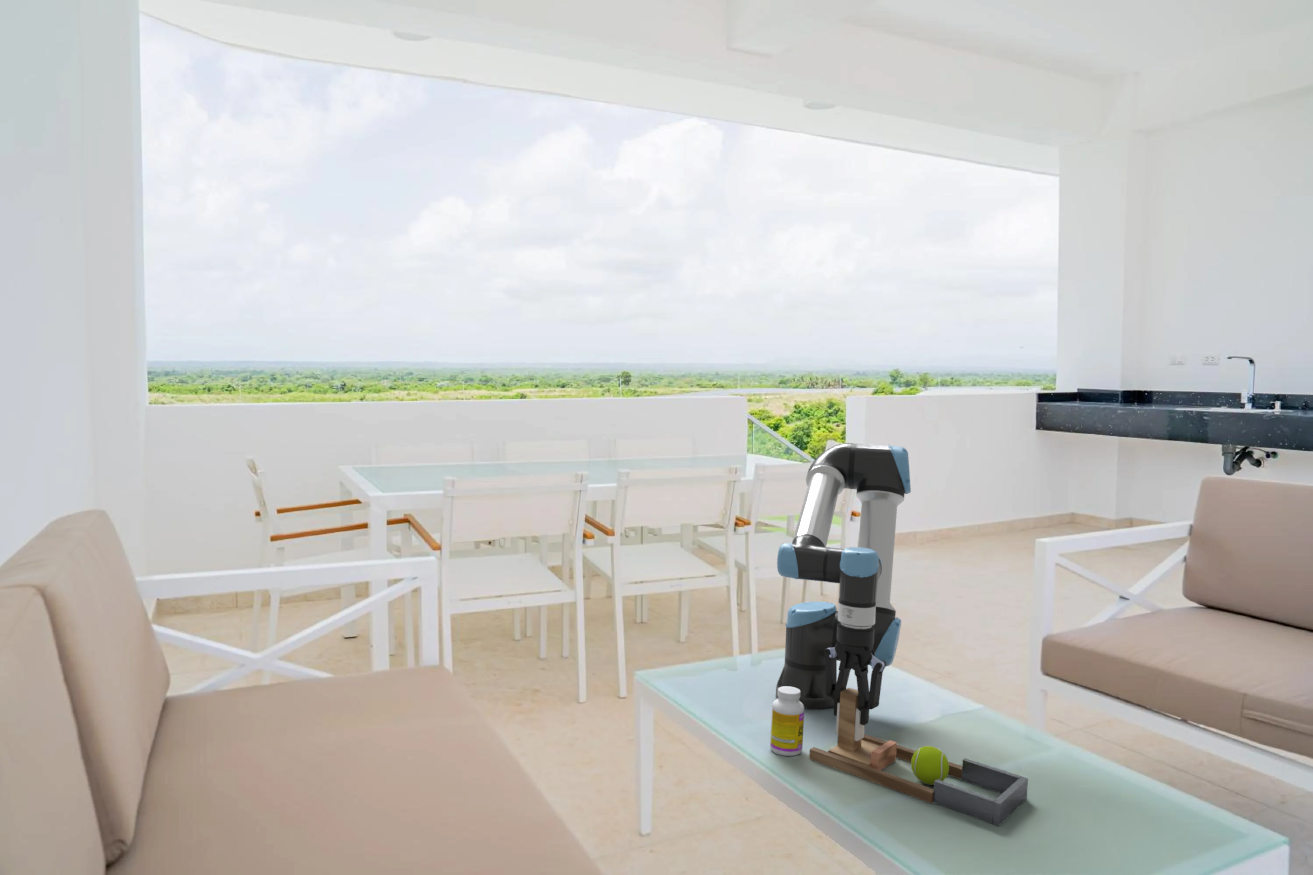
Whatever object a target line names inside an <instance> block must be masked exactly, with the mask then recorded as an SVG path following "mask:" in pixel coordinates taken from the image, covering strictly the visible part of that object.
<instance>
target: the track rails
mask: <svg viewBox="0 0 1313 875" xmlns="http://www.w3.org/2000/svg"><path fill="white" fill-rule="evenodd" d="M861 740H864V741H867V742H870V743H873V744H876V745H879V746H881V745H883V744H885V743H886V742H888V741H887V740H883V739H881V738H878V737H874V736H872V735H869V734H866V733H864V738H862V739H861ZM915 752H916V750H914V749H911V748H909V747H905V746H902V745H899V744H897V750H896V759H901V760H903V761H906V762H909V763H911V760H912V756H913V754H914V753H915ZM808 758H809V760H810V761H814V762H817V763H820V764H822V765H825V766H827V767H831V768H833V769H835V770H836V769H837V770H838V771H842V772H844V773H847V774H849V775H853V776H856V777H858V778H861V779H863V780H866V781H869V782H872V783H874V784H877V785H880V786H883V787H885V788H888V789H892V790H894V791H896V792H898V793H902V794H904V795H907V796H909V797H912V798H916V799H919V800H921V801H923V802H926V803H929V804H934V803H933V793H934V788H932V787H928V786H925V785H924V784H920V783H918V782H914V781H911V780H908V779H906V778H903V777H899V776H898V775H894V774H891V773H889V772H886V771H883V770H881V771H880V770H878V769H875V768H872V767H869V766H866V765H864V764H861V763H858V762H855V761H852V760H849V759H847V758H844V757H841V756H838V755H835V754H832V753H830V752H828V751H826V750H823V749H822V748H821V749H820V748H818V747H815V746H813V747H811V748H810V749H809V757H808ZM948 763H949V772H948V775H947V776H950V777H953V778H957V779H959V780H961V779H962V765H960V764H959V763H958V764H957V763H954V762H951V761H948Z"/></svg>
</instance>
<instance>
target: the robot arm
mask: <svg viewBox="0 0 1313 875" xmlns="http://www.w3.org/2000/svg"><path fill="white" fill-rule="evenodd" d="M909 458H910V457H909V452H908V450H907V449H906V448H905V447H904V446H896V445H890V444H888V445H886V444H885V445H884V444H865V443H852V442H844V443H839V444H836V445H834V446H831V447H830V448H827V449H825V451H823V452H822V453H820V454H819V455H818V456H817V457H816V458H815V459H814V460H813V461H812V463H811V464H810V467H809V468H808V470H807V474H806V477H805V482H806V483H805V485H806V486H807V488H806V489H807V490H806V494H805V496H804V499H803V504H802V507H801V509H800V513H799V516H798V521H797V524H796V527H795V529H794V534H793V537H792V541H791V542H789V543H785V542H784V543H781V545H780V546H779V547H778V551H777V558H776V560H777V561H776V566H777V567H776V568H777V573H778V574H779V575H780V577H784V578H790V579H794V580H805V581H814V582H827V583H832V584H839V588H838V589H839V591H838V592H839V596H838V608H837V606H836V604H835V603H833V602H828V601H805V602H801V603H797V604H794V605H792V606H791V607H789V608H788V610H787V616H786V623H785V627H786V628H785V647H784V648H785V649H784V664H783V667H782V670H781V672H780V676H779V678H778V680H777V683H776V686H775V697H776V699H778V694H777V693H778V688H779V687H782V686H790V687H795V688H798V689H799V690H800V698H799V701H800V702H801V703H802V704H803V705H804V709H808V710H822V709H823V710H824V709H830V708H832V707H833V716H834V717H836V724H835V725H836V727H835V734H836V735H838V727H839V709H840V692H841V691H843V690H845V689H847V688H848V687H847V686H848V683H849V682H848V681H849V677H850V673H851V671H852V670H853V671H854V676H855V677H856V685H857V690H858V696H859V706H860V707H858V708H857V709H856V717H855V735H854V740H855V741H859V740H860V739H862V738H864V734H865V726H866V725H868V724H869V720H870V718H869V717H870V710H874V709H875V708H877V707H879V706H880V700H881V699H880V698H881V690H882V680H883V673H884V670H885V668H886V667H889V666H891V665H892V664H893V662H894V659H895V656H896V653H897V649H898V645H899V638H900V634H901V626H902V619H900V618H899V617H897V616H896V615H897V614H896V613H897V609H895V608H894V607H893V604H892V603H891V592H892V580H893V579H892V578H893V566H894V552H895V538H896V527H897V525H896V524H897V514H898V513H897V511H898V506H899V505H900V504H902V503H903V502H904V501H905V495H908V494H911V492H912V491H911V476H910V475H911V472H910V462H909V461H910V460H909ZM844 489H846V490H847V489H848V490H856V492H855V495H856V496H855V497H857V499H858V501H859V502H861V507H860V509H861V510H860V519H859V529H858V530H859V533H858V543H857V546H855V547H854V546H853V547H852V546H851V547H845V548H839V547H828V546H827V544H828V540H829V537H830V536H829V535H830V531H831V527H832V523H833V518H834V515H835V509H836V506H837V501H838V497H839V495H840V494H841V493H842V492H843V491H844ZM837 662H840V663H839V666H837V665H838V664H837ZM869 666H870V667H871V669H872V671H871V675H870V676H871V677H870V684H869V678H868V674H869ZM837 667H838V671H837ZM837 672H838V673H837Z"/></svg>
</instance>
